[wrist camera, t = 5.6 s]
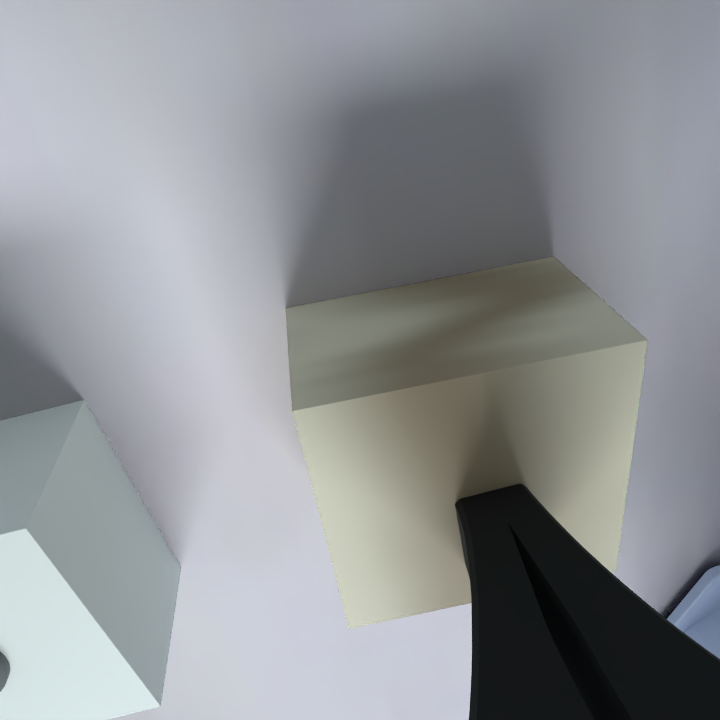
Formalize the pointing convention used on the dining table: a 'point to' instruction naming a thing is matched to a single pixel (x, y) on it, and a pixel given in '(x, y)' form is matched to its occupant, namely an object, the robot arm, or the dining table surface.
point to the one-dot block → (78, 575)
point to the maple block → (459, 422)
